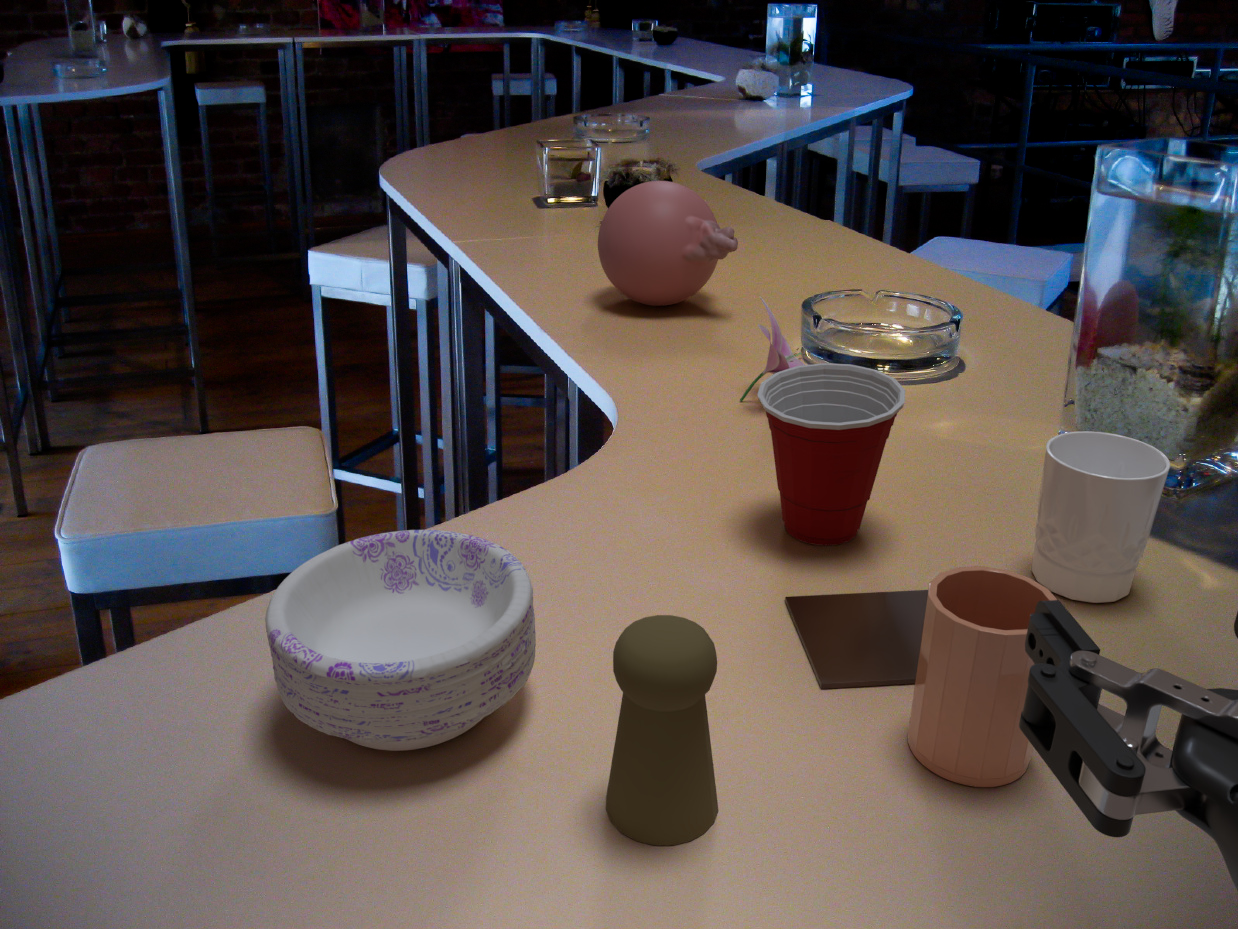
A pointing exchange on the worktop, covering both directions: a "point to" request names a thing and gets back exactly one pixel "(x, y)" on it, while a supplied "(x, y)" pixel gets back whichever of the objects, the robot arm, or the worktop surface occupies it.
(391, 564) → the paper bowls
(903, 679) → the walnut mat
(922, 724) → the peach cup
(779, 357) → the lily
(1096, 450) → the white cup
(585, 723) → the worktop surface
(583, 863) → the worktop surface
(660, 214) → the balloon
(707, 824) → the olive peg doll
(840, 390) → the plastic cup
